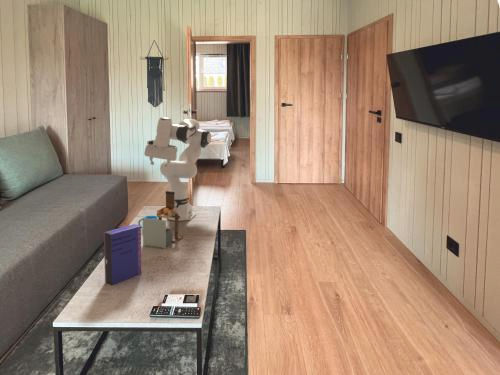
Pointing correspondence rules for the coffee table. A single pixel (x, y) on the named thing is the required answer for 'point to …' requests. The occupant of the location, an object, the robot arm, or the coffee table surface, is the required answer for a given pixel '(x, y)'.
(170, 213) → the chute
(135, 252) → the cereal box
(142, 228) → the mug
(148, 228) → the bin
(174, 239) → the stand
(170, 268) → the coffee table surface
